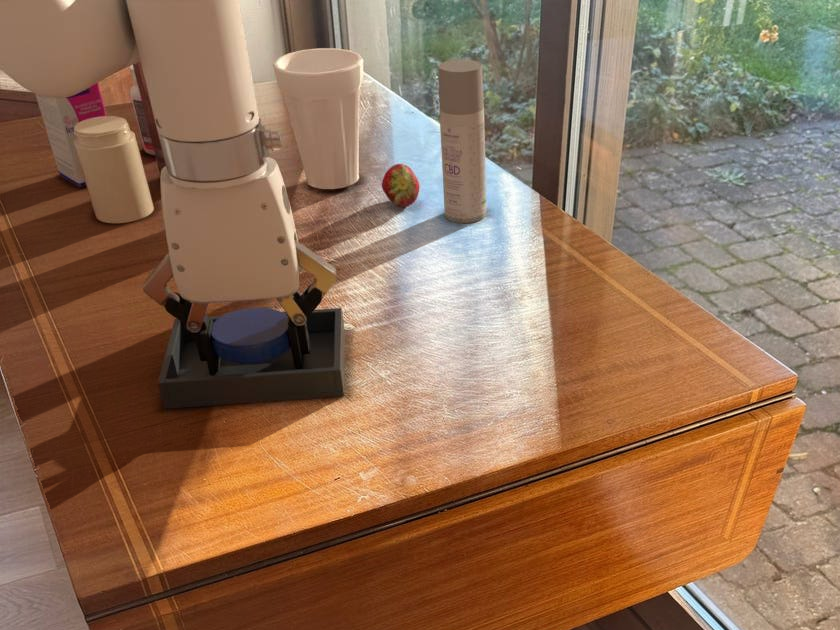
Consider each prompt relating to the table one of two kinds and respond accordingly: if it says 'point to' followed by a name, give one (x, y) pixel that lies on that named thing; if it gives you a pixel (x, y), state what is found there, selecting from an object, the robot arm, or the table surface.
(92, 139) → the jar
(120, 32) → the robot arm
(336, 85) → the cup
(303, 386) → the tray
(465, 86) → the container
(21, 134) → the table surface
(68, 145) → the supplement box
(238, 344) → the lid
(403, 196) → the fruit
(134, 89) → the pill bottle
